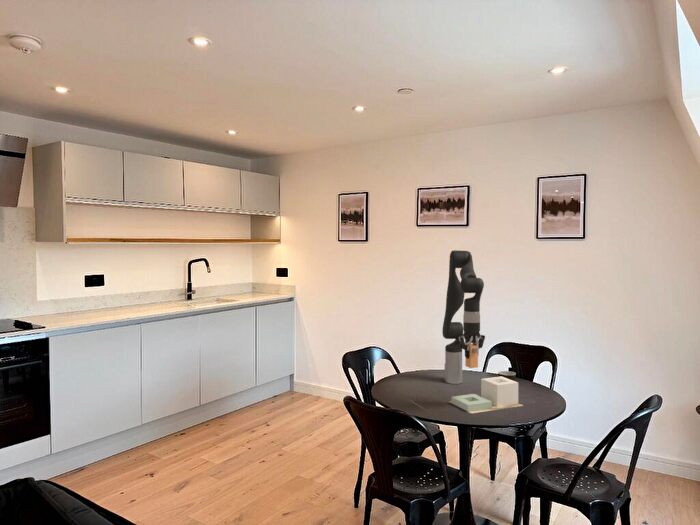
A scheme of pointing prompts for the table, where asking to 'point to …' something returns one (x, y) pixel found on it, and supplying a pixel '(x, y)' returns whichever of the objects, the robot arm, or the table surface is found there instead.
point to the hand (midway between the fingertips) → (471, 357)
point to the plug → (472, 357)
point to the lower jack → (471, 402)
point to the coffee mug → (507, 375)
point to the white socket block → (499, 391)
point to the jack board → (494, 408)
